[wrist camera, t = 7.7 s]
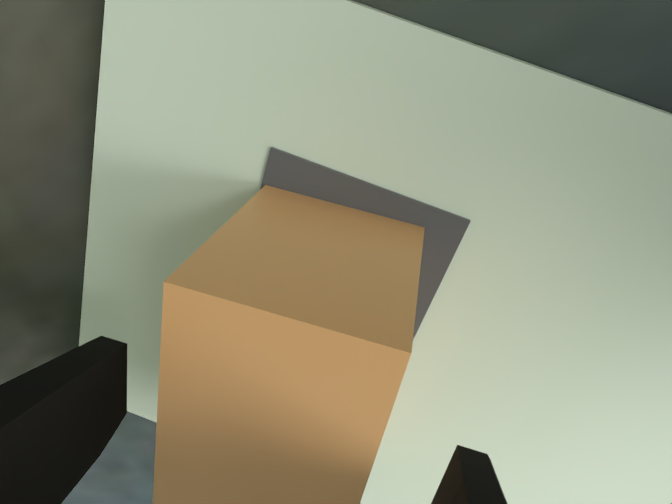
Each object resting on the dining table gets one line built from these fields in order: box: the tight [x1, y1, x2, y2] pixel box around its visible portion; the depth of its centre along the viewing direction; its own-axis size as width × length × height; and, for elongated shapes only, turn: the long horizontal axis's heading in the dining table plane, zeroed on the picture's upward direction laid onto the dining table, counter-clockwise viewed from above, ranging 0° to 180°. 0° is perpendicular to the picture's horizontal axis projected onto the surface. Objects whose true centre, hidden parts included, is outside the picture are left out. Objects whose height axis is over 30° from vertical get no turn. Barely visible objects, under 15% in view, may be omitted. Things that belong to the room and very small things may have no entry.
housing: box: [153, 185, 425, 504], centre depth 12 cm, size 4×7×5 cm, turn 168°
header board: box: [79, 0, 672, 504], centre depth 13 cm, size 18×14×4 cm
